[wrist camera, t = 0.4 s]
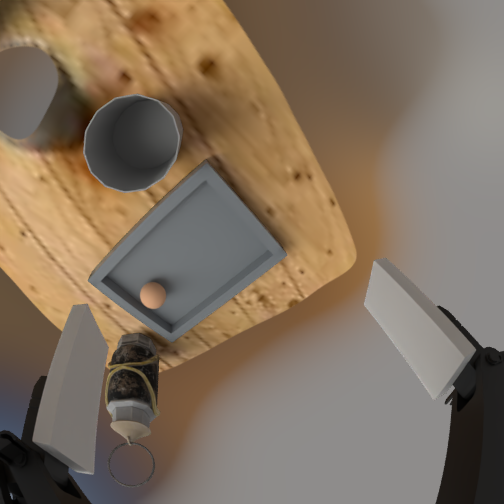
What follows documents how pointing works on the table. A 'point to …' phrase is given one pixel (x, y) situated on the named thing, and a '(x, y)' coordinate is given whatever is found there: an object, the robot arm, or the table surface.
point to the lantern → (133, 390)
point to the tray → (188, 254)
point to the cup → (132, 142)
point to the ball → (153, 295)
